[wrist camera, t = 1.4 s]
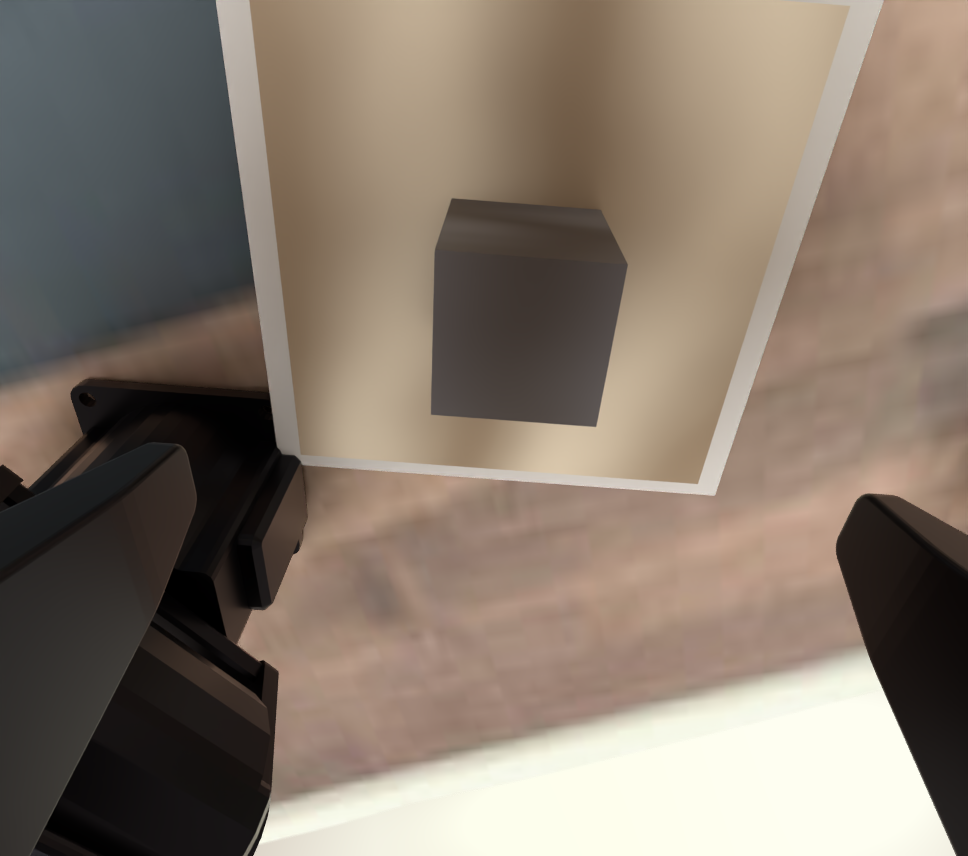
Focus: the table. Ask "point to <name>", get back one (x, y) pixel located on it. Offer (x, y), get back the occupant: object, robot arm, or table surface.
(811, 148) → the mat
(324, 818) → the table surface
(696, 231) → the lid
